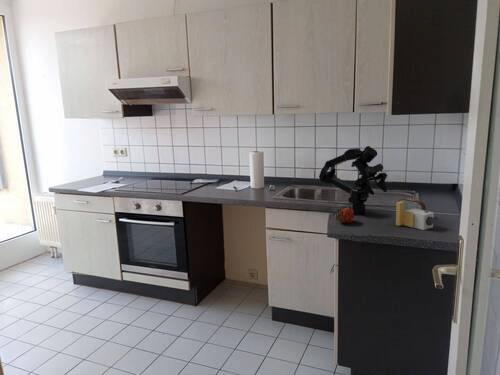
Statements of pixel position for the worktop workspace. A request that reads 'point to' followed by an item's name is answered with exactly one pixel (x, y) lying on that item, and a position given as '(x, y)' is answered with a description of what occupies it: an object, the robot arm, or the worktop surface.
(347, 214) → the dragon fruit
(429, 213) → the camera housing
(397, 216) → the side door
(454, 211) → the worktop surface
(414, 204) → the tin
